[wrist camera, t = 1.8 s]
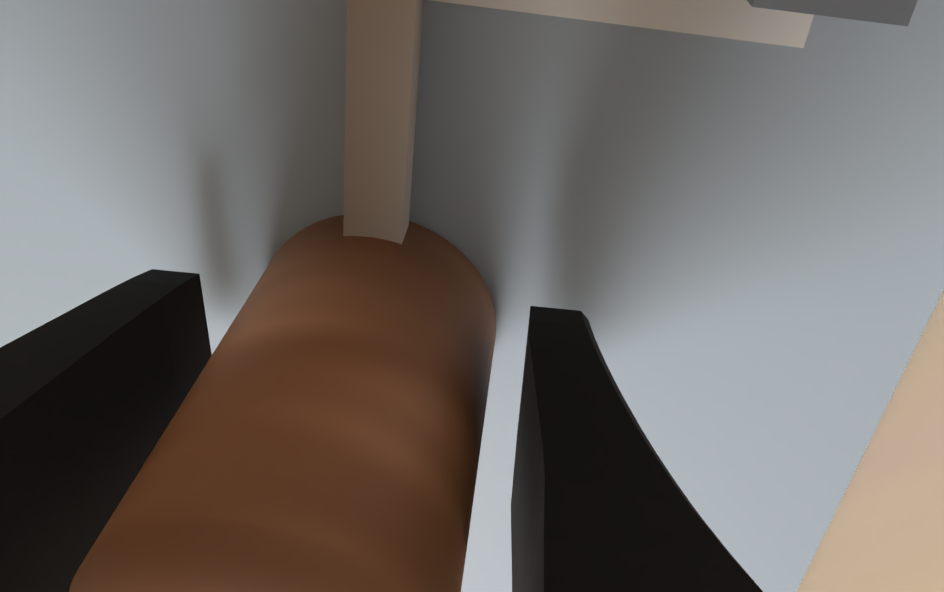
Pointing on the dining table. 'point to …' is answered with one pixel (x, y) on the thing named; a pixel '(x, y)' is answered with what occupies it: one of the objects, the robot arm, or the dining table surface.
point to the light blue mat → (534, 206)
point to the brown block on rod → (328, 390)
